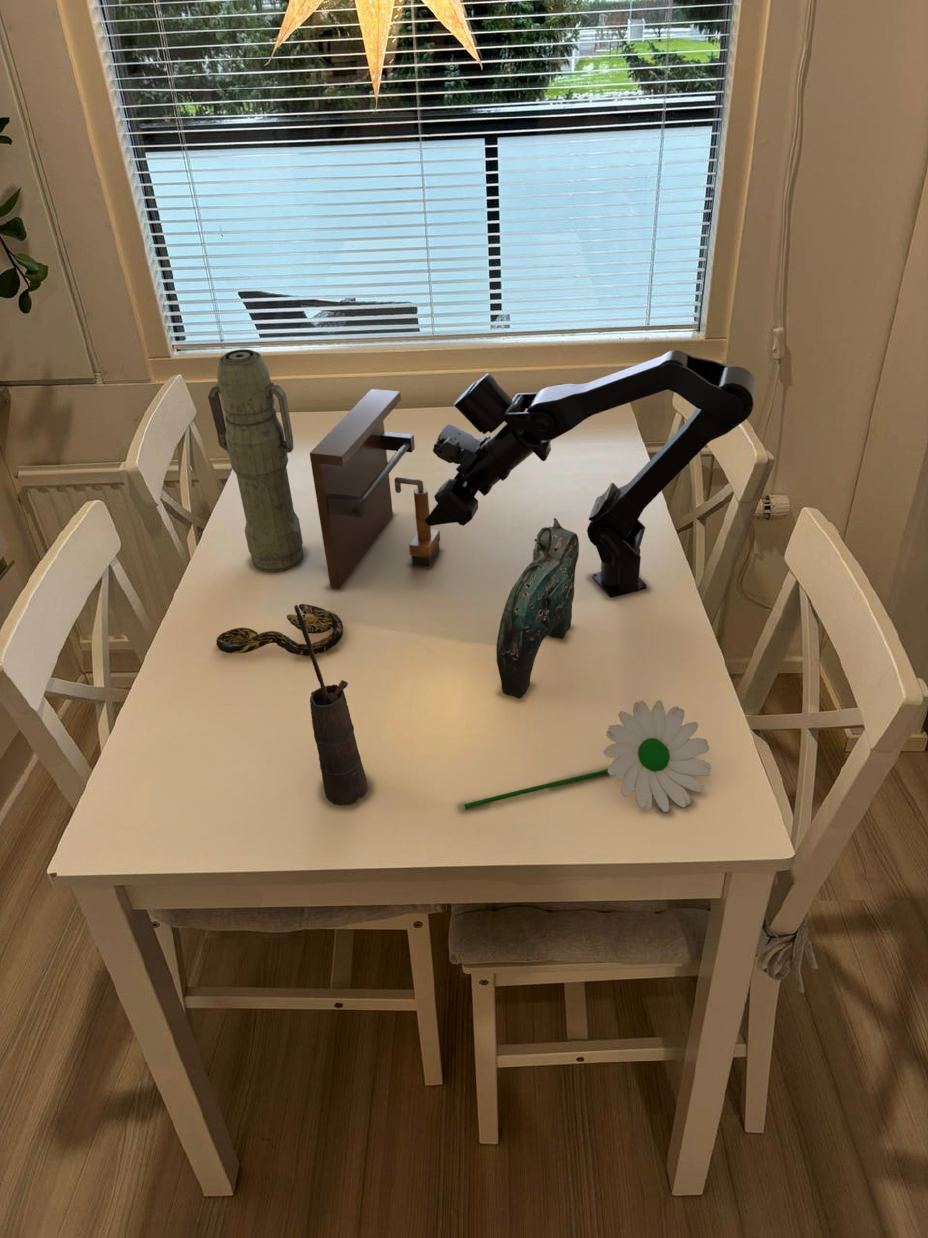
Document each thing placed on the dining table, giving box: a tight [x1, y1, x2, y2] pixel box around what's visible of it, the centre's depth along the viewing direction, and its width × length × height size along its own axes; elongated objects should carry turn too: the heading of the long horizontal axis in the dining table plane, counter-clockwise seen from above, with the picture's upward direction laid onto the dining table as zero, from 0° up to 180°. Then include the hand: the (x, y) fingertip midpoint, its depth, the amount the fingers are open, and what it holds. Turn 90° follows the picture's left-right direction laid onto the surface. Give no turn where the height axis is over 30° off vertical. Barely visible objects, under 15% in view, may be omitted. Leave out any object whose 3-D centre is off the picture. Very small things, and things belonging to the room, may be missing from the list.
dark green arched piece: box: [496, 517, 580, 700], centre depth 125 cm, size 20×6×20 cm, turn 152°
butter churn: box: [293, 604, 369, 806], centre depth 105 cm, size 9×10×28 cm
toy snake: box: [215, 603, 344, 657], centre depth 135 cm, size 18×5×10 cm
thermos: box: [207, 348, 305, 574], centre depth 145 cm, size 9×12×35 cm
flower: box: [463, 699, 712, 813], centre depth 110 cm, size 13×6×30 cm
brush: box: [394, 476, 441, 568], centre depth 149 cm, size 6×6×14 cm
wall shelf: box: [309, 388, 416, 590], centre depth 149 cm, size 7×24×24 cm, turn 163°
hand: (436, 508), depth 147 cm, fingers open, 9 cm apart
